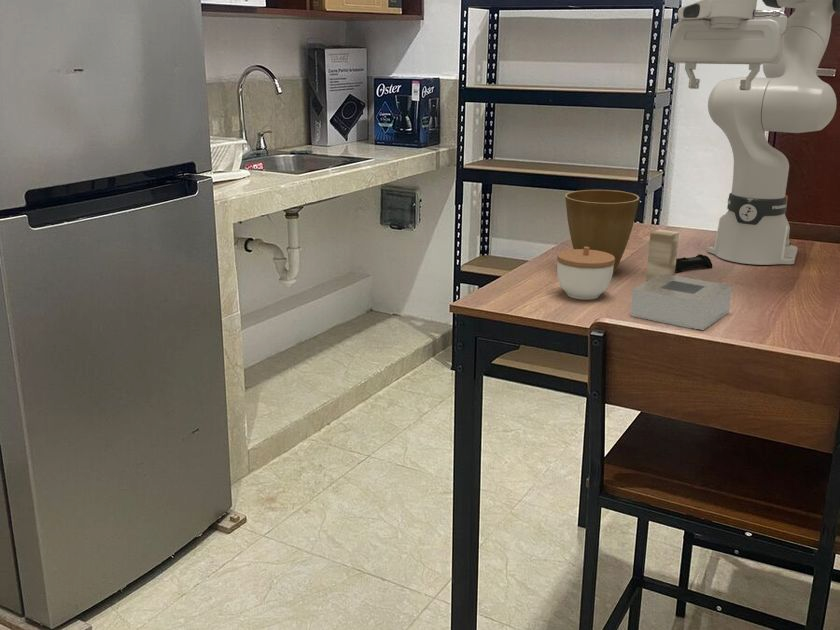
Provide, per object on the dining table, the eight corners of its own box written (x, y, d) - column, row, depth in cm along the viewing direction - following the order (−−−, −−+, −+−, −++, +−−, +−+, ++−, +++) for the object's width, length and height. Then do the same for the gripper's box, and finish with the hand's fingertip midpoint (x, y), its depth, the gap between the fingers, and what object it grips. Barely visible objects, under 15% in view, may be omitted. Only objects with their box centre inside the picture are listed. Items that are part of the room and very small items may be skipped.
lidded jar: (599, 306, 154) (603, 256, 151) (545, 297, 160) (548, 248, 157) (619, 293, 163) (624, 245, 160) (568, 284, 168) (571, 238, 165)
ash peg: (652, 289, 165) (658, 229, 161) (672, 293, 163) (679, 232, 159) (644, 294, 162) (650, 232, 158) (664, 297, 160) (671, 235, 156)
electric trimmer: (643, 273, 178) (645, 259, 177) (701, 265, 184) (703, 251, 183) (655, 278, 175) (656, 263, 174) (713, 269, 181) (715, 255, 180)
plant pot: (576, 258, 188) (581, 187, 183) (642, 268, 180) (649, 193, 176) (549, 273, 176) (553, 197, 171) (618, 284, 169) (624, 204, 164)
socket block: (659, 299, 159) (661, 273, 157) (728, 312, 152) (732, 285, 150) (630, 315, 149) (632, 288, 148) (703, 331, 142) (706, 302, 140)
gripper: (794, 12, 150) (781, 92, 153) (681, 14, 161) (671, 88, 164) (785, 6, 145) (772, 89, 148) (669, 9, 156) (659, 86, 159)
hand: (718, 89), depth 156 cm, fingers open, 8 cm apart
